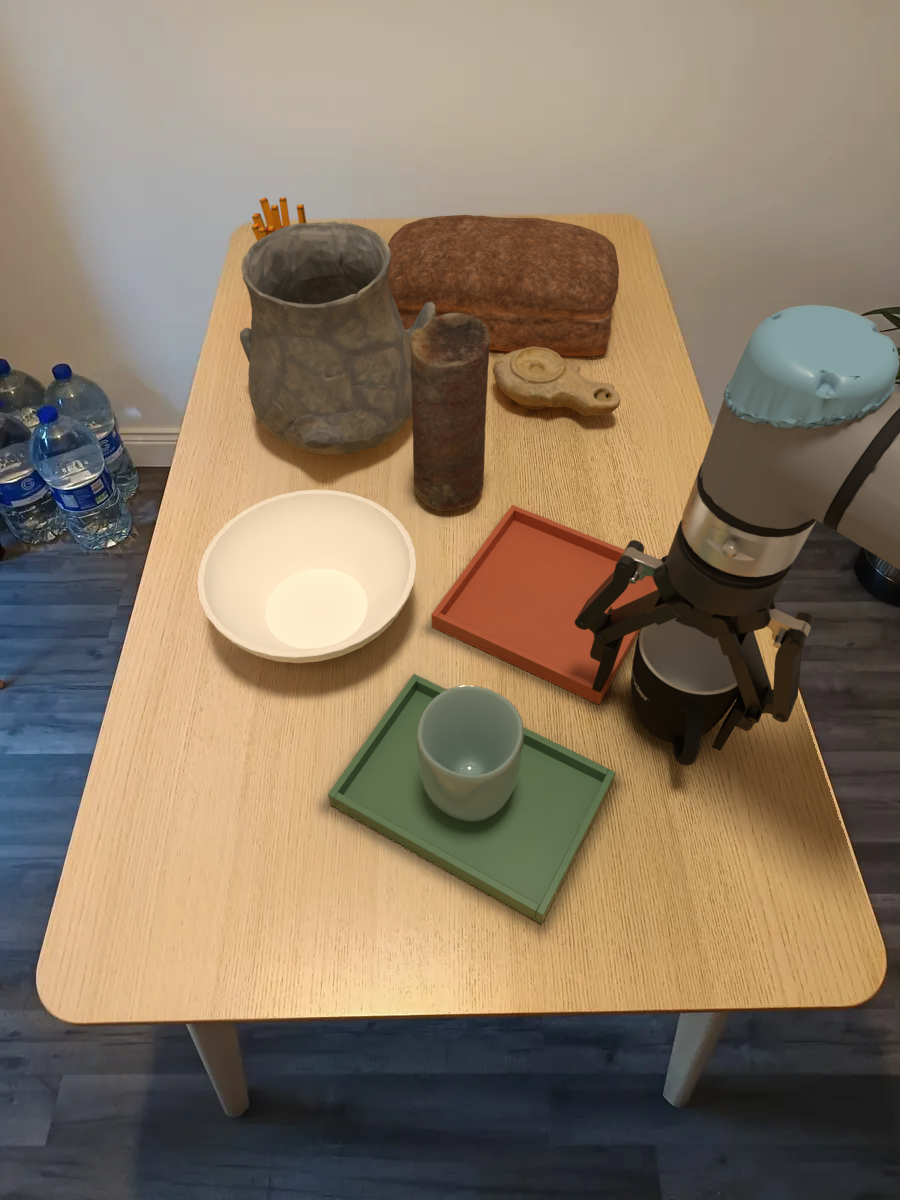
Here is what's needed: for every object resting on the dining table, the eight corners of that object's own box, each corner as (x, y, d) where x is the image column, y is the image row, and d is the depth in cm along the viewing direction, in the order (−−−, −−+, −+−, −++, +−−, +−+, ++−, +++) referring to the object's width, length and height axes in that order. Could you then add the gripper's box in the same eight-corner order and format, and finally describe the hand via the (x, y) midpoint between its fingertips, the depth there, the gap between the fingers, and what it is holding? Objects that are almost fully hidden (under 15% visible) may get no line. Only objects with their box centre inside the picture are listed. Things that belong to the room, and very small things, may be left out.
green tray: (612, 783, 71) (615, 772, 70) (541, 924, 64) (543, 915, 63) (414, 685, 77) (413, 673, 76) (330, 804, 70) (327, 794, 69)
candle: (497, 502, 91) (505, 341, 75) (438, 529, 89) (433, 369, 73) (459, 460, 95) (459, 299, 79) (401, 485, 93) (389, 324, 77)
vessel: (223, 484, 93) (174, 324, 77) (266, 358, 107) (232, 200, 91) (422, 494, 92) (414, 333, 76) (440, 365, 105) (437, 206, 90)
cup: (531, 768, 72) (540, 706, 64) (494, 851, 67) (498, 795, 59) (446, 733, 74) (445, 669, 66) (405, 811, 69) (398, 752, 61)
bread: (397, 272, 118) (391, 190, 109) (612, 287, 115) (625, 203, 106) (373, 347, 108) (365, 263, 99) (609, 365, 105) (623, 280, 96)
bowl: (232, 536, 89) (217, 489, 83) (422, 536, 88) (419, 488, 83) (197, 700, 77) (176, 657, 71) (416, 699, 76) (412, 656, 71)
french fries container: (268, 340, 109) (246, 235, 98) (275, 299, 115) (255, 195, 104) (324, 339, 109) (308, 234, 98) (328, 297, 115) (314, 194, 104)
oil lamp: (617, 433, 98) (623, 398, 94) (490, 430, 98) (491, 395, 94) (610, 374, 104) (616, 339, 100) (492, 372, 105) (493, 337, 101)
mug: (619, 664, 78) (637, 596, 70) (720, 673, 78) (749, 605, 70) (620, 785, 71) (640, 724, 63) (731, 796, 70) (765, 735, 62)
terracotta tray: (667, 580, 84) (671, 567, 83) (599, 705, 76) (602, 693, 74) (511, 517, 90) (512, 504, 88) (431, 627, 81) (431, 614, 80)
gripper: (553, 506, 57) (521, 681, 74) (903, 656, 50) (776, 808, 68) (600, 438, 61) (559, 620, 78) (929, 570, 54) (803, 735, 72)
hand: (660, 707), depth 73 cm, fingers open, 10 cm apart
